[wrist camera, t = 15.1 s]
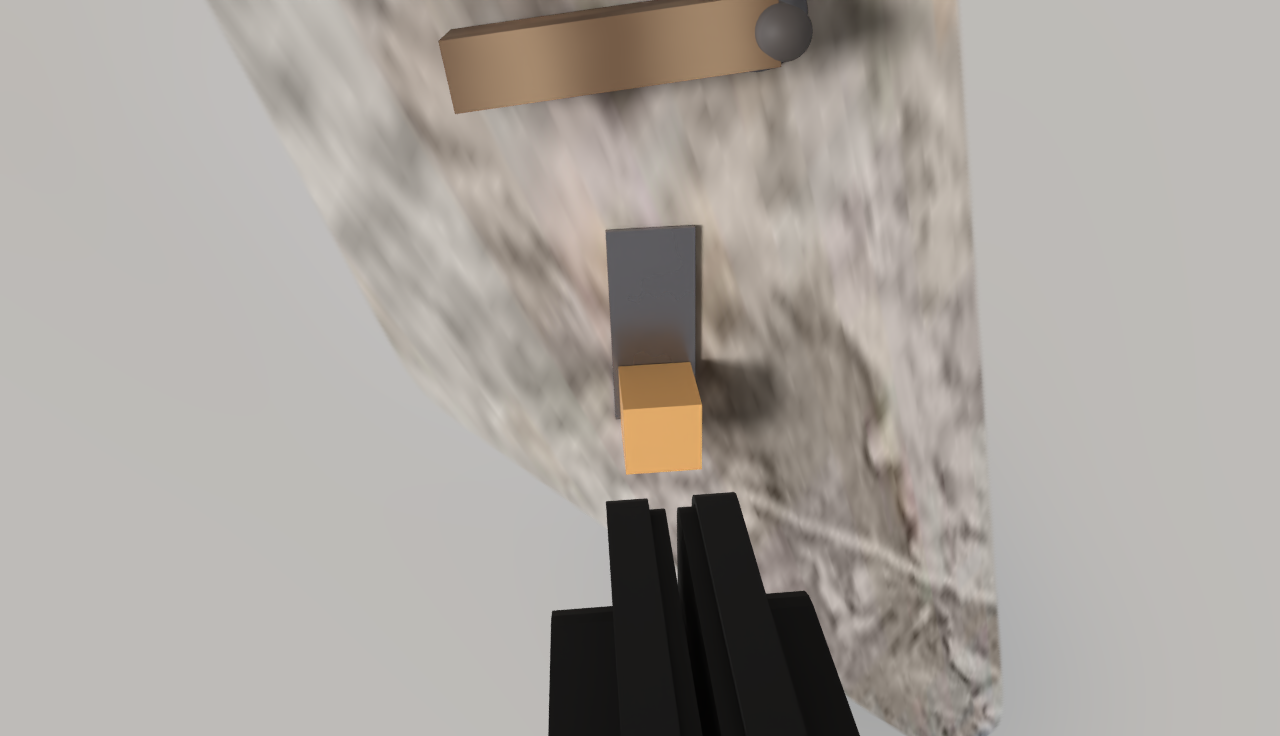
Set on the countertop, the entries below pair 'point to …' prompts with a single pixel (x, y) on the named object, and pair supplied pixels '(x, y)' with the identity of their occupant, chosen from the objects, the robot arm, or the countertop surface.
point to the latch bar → (618, 49)
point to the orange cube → (660, 418)
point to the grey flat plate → (651, 297)
